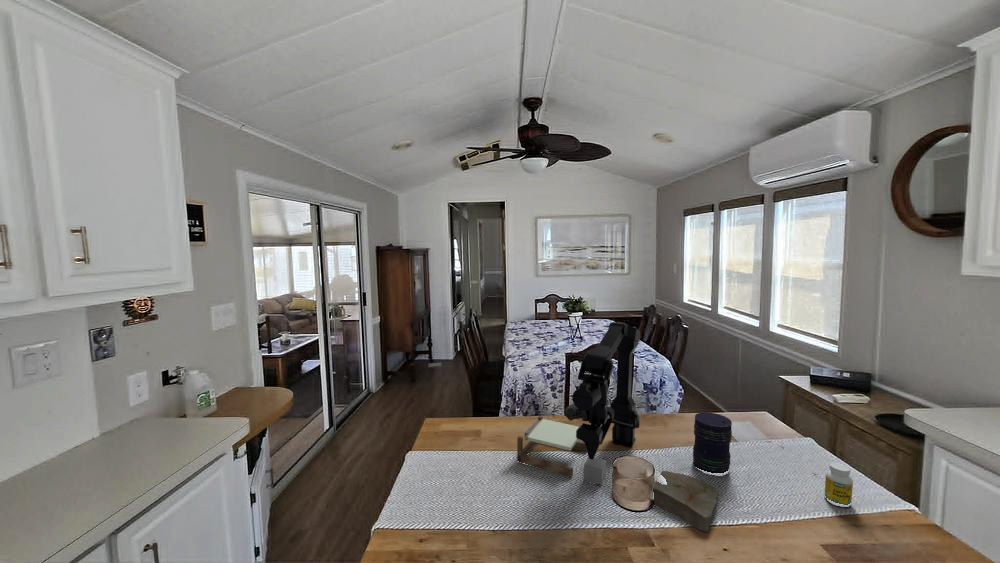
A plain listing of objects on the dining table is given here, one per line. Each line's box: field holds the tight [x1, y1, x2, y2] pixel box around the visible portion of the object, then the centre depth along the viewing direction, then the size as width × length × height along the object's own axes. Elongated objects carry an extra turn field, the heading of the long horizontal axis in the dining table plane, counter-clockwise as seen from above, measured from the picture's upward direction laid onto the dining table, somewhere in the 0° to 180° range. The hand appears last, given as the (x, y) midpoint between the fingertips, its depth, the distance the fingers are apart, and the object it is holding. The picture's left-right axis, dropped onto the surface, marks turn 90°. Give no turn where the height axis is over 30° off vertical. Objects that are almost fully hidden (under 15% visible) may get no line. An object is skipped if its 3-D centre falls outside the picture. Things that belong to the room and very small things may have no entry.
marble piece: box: [652, 470, 720, 533], centre depth 103 cm, size 17×15×4 cm
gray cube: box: [583, 456, 607, 486], centre depth 114 cm, size 5×5×5 cm
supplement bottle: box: [824, 462, 854, 505], centre depth 103 cm, size 5×5×10 cm
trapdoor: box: [524, 418, 579, 451], centre depth 125 cm, size 16×14×1 cm
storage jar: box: [692, 411, 733, 473], centre depth 119 cm, size 10×10×15 cm
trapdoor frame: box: [516, 415, 587, 478], centre depth 126 cm, size 17×17×8 cm
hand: (595, 451), depth 113 cm, fingers open, 9 cm apart
